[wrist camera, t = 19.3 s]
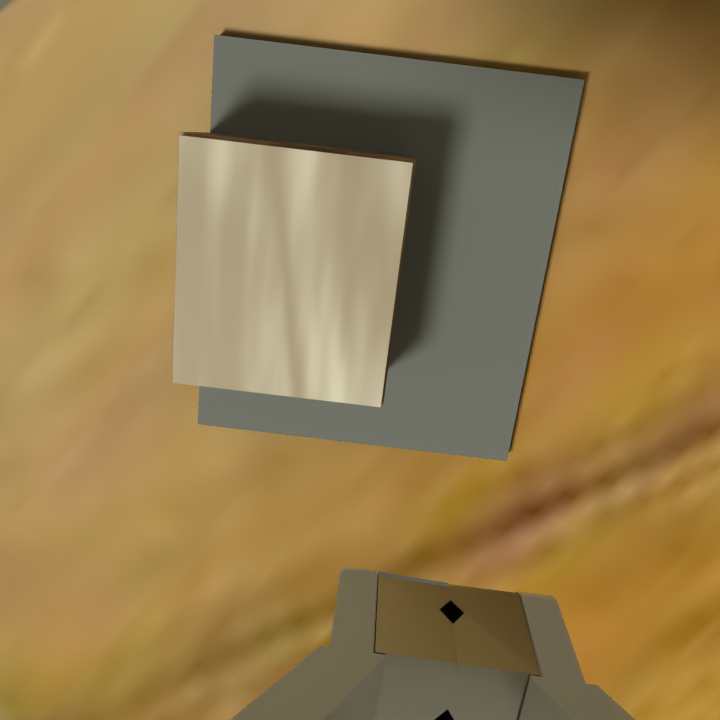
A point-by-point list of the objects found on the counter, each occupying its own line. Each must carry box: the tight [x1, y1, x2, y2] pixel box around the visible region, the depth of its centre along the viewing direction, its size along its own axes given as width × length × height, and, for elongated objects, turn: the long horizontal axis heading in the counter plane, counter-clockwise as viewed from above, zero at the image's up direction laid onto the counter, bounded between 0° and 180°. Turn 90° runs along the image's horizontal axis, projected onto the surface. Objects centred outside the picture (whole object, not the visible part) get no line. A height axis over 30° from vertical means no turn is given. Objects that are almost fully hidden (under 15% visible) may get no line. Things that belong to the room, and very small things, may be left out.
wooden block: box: [172, 132, 416, 407], centre depth 26 cm, size 4×9×8 cm
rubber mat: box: [198, 35, 584, 461], centre depth 28 cm, size 14×16×1 cm
